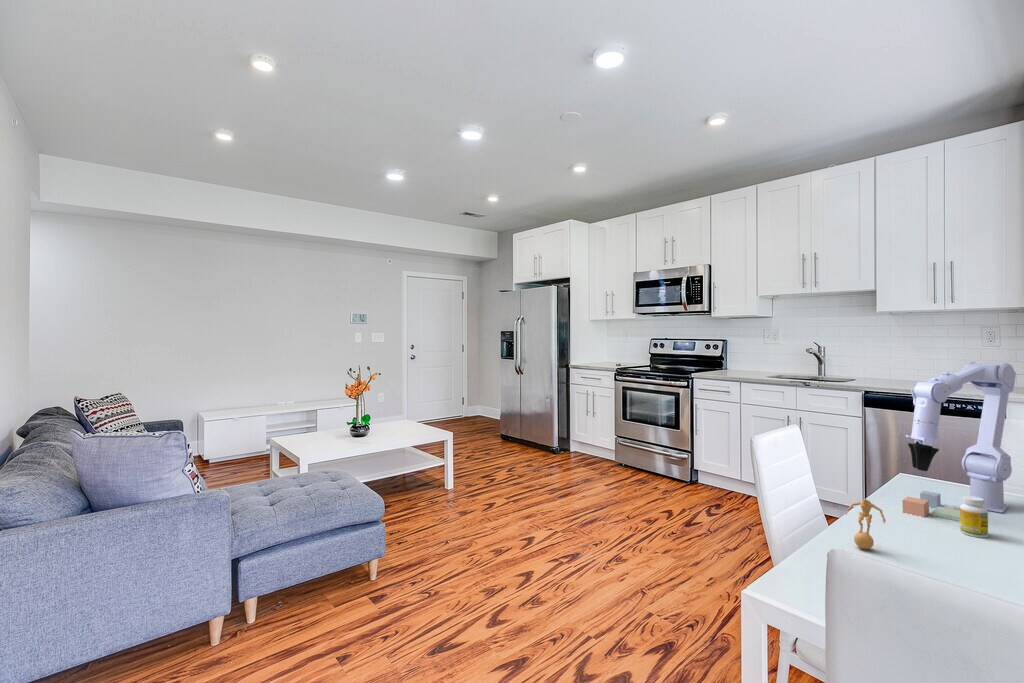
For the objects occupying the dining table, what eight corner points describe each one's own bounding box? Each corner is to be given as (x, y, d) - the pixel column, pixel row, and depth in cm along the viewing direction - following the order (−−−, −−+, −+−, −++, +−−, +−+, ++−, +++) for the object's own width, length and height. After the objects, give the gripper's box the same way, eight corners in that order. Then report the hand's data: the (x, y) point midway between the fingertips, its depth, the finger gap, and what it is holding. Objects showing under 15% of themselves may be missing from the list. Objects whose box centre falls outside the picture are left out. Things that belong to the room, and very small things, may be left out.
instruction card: (946, 505, 150) (946, 505, 150) (972, 511, 145) (972, 510, 145) (941, 510, 147) (940, 509, 147) (967, 515, 142) (967, 515, 142)
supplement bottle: (964, 528, 132) (963, 493, 132) (991, 535, 128) (990, 498, 128) (957, 533, 129) (956, 497, 129) (984, 540, 125) (984, 502, 125)
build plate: (938, 510, 147) (938, 506, 147) (969, 516, 141) (969, 512, 141) (932, 515, 142) (931, 511, 142) (964, 522, 137) (964, 518, 137)
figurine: (841, 545, 123) (841, 498, 123) (849, 539, 127) (848, 493, 127) (882, 556, 117) (881, 506, 117) (888, 549, 121) (887, 500, 121)
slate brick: (924, 503, 153) (923, 490, 153) (940, 506, 150) (940, 493, 150) (920, 506, 151) (920, 493, 151) (937, 509, 148) (936, 496, 148)
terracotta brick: (908, 509, 148) (907, 496, 148) (929, 514, 144) (928, 500, 144) (902, 513, 145) (902, 499, 145) (924, 518, 141) (923, 504, 141)
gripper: (904, 420, 150) (898, 464, 150) (912, 420, 138) (906, 467, 137) (934, 424, 146) (928, 469, 146) (944, 425, 134) (938, 474, 134)
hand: (919, 469), depth 141 cm, fingers open, 7 cm apart
